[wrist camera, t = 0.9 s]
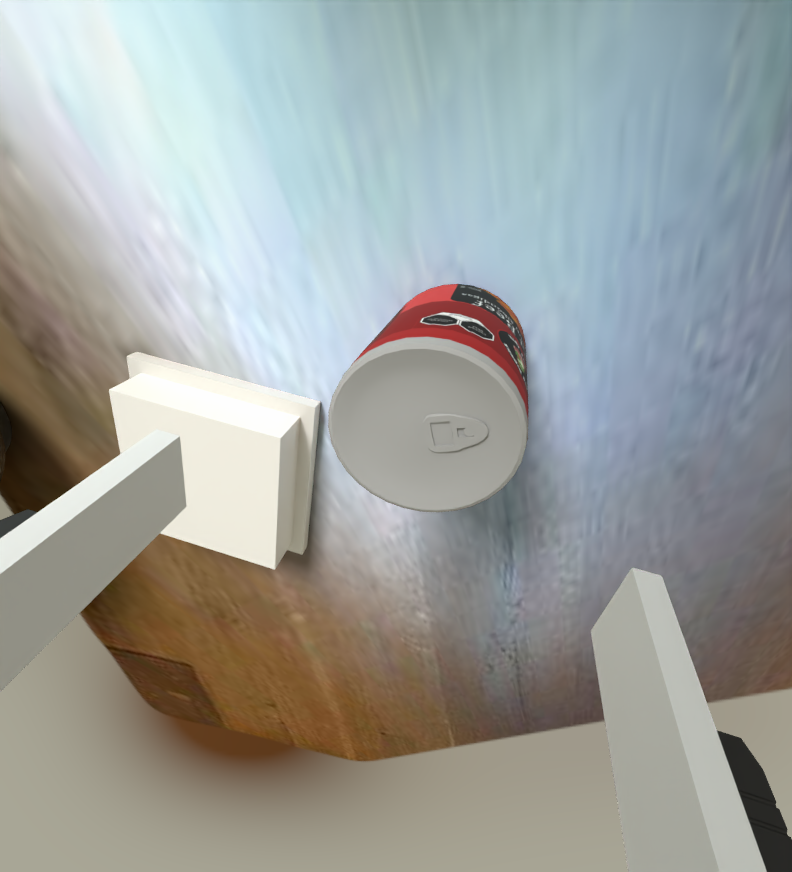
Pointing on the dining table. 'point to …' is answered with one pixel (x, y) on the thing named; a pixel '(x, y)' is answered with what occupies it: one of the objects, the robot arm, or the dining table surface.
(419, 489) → the canned food
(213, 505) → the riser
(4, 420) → the planter
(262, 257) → the dining table surface
